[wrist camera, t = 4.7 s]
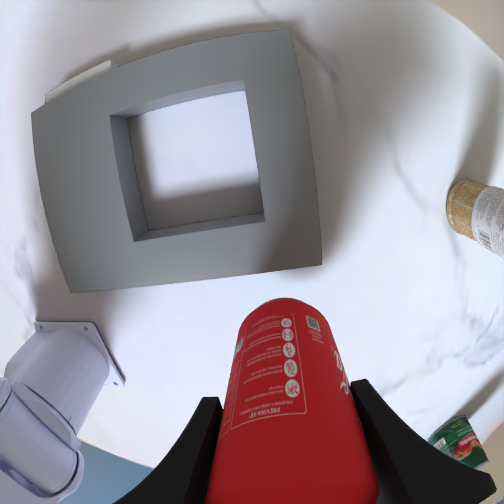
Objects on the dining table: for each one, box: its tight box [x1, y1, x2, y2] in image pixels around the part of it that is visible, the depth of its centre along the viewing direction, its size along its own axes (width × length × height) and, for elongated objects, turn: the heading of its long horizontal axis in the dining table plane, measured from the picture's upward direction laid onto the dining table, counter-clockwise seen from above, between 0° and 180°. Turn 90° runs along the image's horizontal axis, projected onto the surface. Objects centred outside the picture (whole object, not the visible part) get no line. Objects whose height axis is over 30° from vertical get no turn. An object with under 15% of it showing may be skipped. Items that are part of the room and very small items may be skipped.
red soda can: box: [205, 298, 380, 504], centre depth 10 cm, size 5×5×12 cm
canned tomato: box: [427, 415, 489, 471], centre depth 23 cm, size 8×8×11 cm
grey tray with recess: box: [31, 29, 322, 293], centre depth 15 cm, size 18×15×2 cm
